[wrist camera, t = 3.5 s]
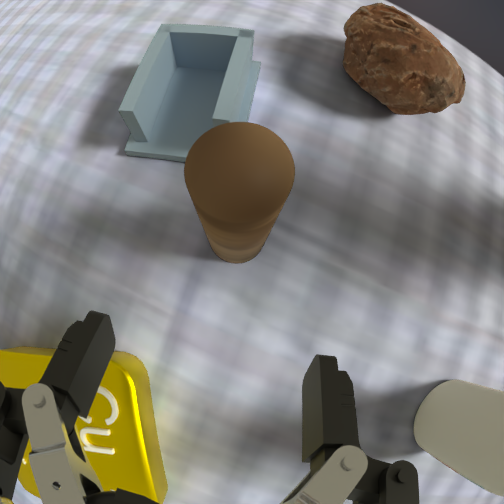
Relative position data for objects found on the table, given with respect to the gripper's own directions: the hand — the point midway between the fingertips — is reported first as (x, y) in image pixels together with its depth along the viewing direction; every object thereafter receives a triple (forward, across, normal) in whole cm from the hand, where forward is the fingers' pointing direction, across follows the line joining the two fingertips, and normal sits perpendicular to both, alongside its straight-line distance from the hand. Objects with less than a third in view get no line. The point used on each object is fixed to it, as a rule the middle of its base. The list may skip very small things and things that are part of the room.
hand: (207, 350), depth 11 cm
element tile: (+1, +11, +18) cm, 21 cm away
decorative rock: (+28, -12, -10) cm, 32 cm away
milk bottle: (+4, -22, +14) cm, 27 cm away
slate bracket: (+22, +6, -4) cm, 23 cm away
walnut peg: (+14, 0, +4) cm, 14 cm away
